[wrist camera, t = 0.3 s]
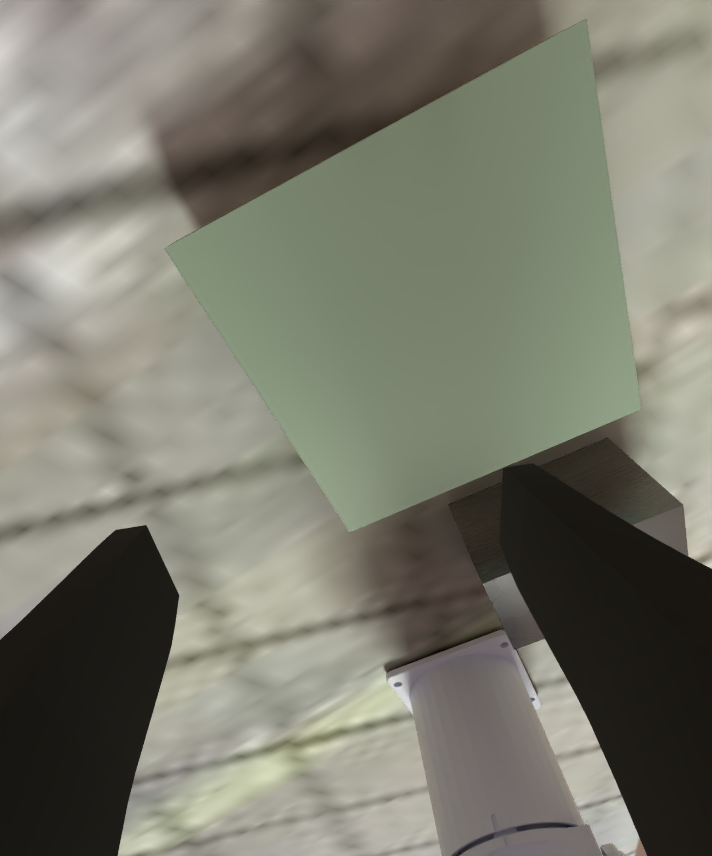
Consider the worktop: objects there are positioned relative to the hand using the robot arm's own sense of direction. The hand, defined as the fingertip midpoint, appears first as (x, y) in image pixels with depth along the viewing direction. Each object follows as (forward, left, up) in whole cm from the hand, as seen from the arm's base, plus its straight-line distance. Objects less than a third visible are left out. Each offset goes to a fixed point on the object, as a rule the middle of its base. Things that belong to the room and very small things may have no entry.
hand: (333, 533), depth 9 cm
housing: (-12, -6, -10) cm, 17 cm away
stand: (0, -4, -10) cm, 11 cm away
